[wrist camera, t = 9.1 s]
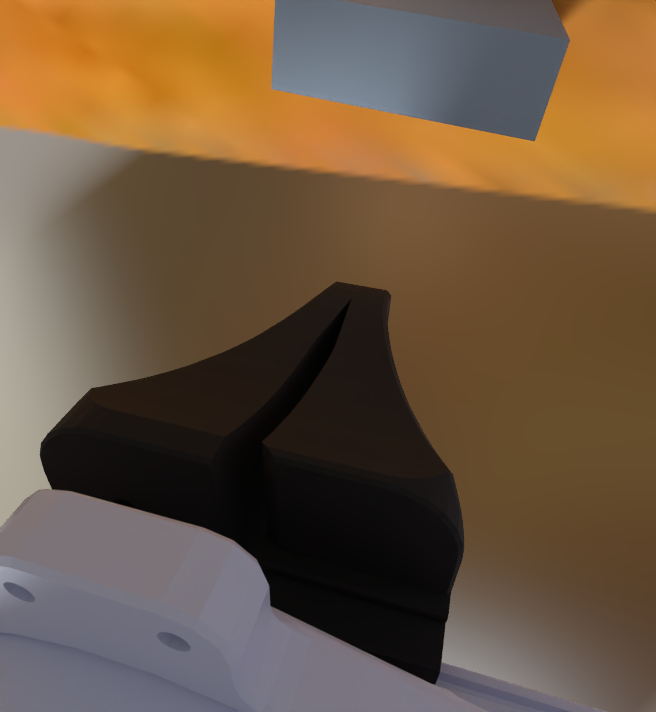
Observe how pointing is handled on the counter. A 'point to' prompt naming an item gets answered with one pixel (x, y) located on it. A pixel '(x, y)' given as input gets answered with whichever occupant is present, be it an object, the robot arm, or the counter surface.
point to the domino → (425, 58)
